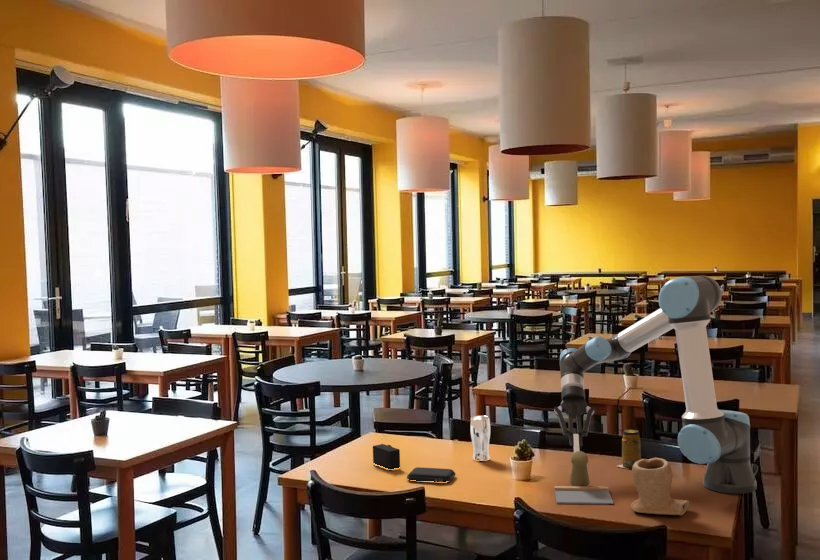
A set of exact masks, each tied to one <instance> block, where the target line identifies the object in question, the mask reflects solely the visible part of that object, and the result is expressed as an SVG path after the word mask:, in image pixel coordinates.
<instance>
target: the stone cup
mask: <svg viewBox="0 0 820 560" xmlns="http://www.w3.org/2000/svg"><path fill="white" fill-rule="evenodd" d="M631 471H632V479H633V484H634V486H635V489H636V491H637V494H638V498H637V499H634V500H633V501H632V503H631V504H630V508H631V509H632V510H633V512H636V513H642V514H648V515H649V514H650V515H653V514H654V515H664V516H665V515H667V516H683V515H684V514H685V513H687V510H689V506H690V500H686V499H675V498H672V496H671V489H672V482H673V470H672V467H671V464H670V463H669V462H668V461H667V460H666V459H664V458H661V457H660V458H659V457H652V458H649V459H647V458H641V460H639V461H637V462H635V463H634V465H633V467H632V469H631Z"/></svg>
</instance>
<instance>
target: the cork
mask: <svg viewBox="0 0 820 560" xmlns="http://www.w3.org/2000/svg"><path fill="white" fill-rule="evenodd" d="M570 462H571V465H572V466H571V470H570V476H569V484H570V486H590V478H589V471H588V466H587V465H588V463H589V456H588V455H587V453H585V452H584V451H580V450H579V451H577V452H575V453H574V452H573V453H571V456H570Z"/></svg>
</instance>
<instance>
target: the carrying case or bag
mask: <svg viewBox="0 0 820 560" xmlns="http://www.w3.org/2000/svg"><path fill="white" fill-rule="evenodd" d="M455 476H456V472H455V470H454V469H450V468H440V467H439V468H438V467H418V466H417V467H415V468H413V469H412V470H411V471H410V472H409V473H408V474H407V476H406V479H407V480H408V479H409V480H416V481H434V482H446V481H450V482H451V481H452V480H453V479H454V478H455ZM409 480H408V481H409Z"/></svg>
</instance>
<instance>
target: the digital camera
mask: <svg viewBox="0 0 820 560" xmlns="http://www.w3.org/2000/svg"><path fill="white" fill-rule="evenodd" d="M400 451H401V450H400V449H399V448H396V447H393V446H392V445H390V444H385V443H381V444H380V443H379V444H375V445H373V446H372V464H373V463H375V464H377V465H380V466H383V467H385V468H388V469H394V468H399V467H400V468H401V454H400V453H401V452H400Z"/></svg>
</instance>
